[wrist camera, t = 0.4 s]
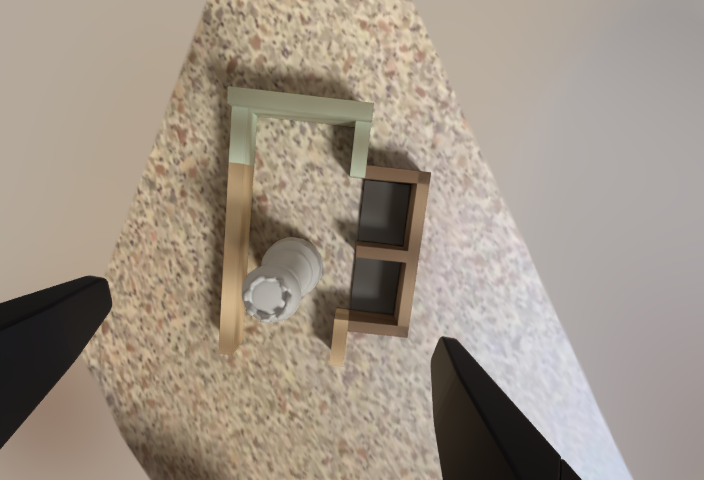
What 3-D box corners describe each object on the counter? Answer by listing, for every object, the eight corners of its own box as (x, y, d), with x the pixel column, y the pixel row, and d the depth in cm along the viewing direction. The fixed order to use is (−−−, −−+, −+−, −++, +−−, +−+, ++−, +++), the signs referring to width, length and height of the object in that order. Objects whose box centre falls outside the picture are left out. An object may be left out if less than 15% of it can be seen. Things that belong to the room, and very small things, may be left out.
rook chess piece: (333, 278, 25) (324, 319, 17) (281, 302, 25) (249, 353, 17) (307, 226, 24) (285, 242, 16) (254, 251, 25) (207, 279, 17)
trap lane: (398, 357, 26) (404, 378, 23) (229, 339, 26) (213, 359, 23) (431, 121, 23) (443, 111, 20) (244, 99, 23) (227, 85, 20)
